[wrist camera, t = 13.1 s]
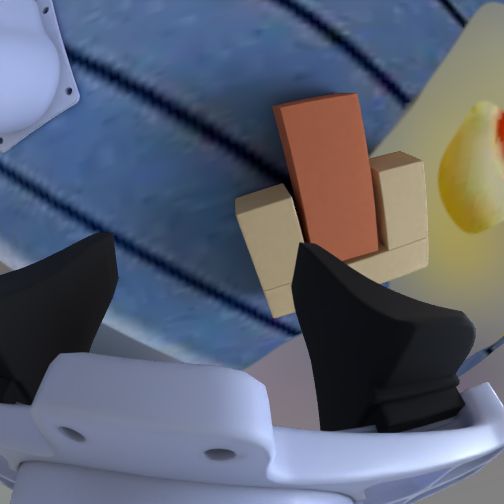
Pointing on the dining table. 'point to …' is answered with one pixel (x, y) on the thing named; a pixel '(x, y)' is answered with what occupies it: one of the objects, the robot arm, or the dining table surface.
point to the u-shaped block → (370, 265)
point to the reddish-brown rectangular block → (330, 172)
